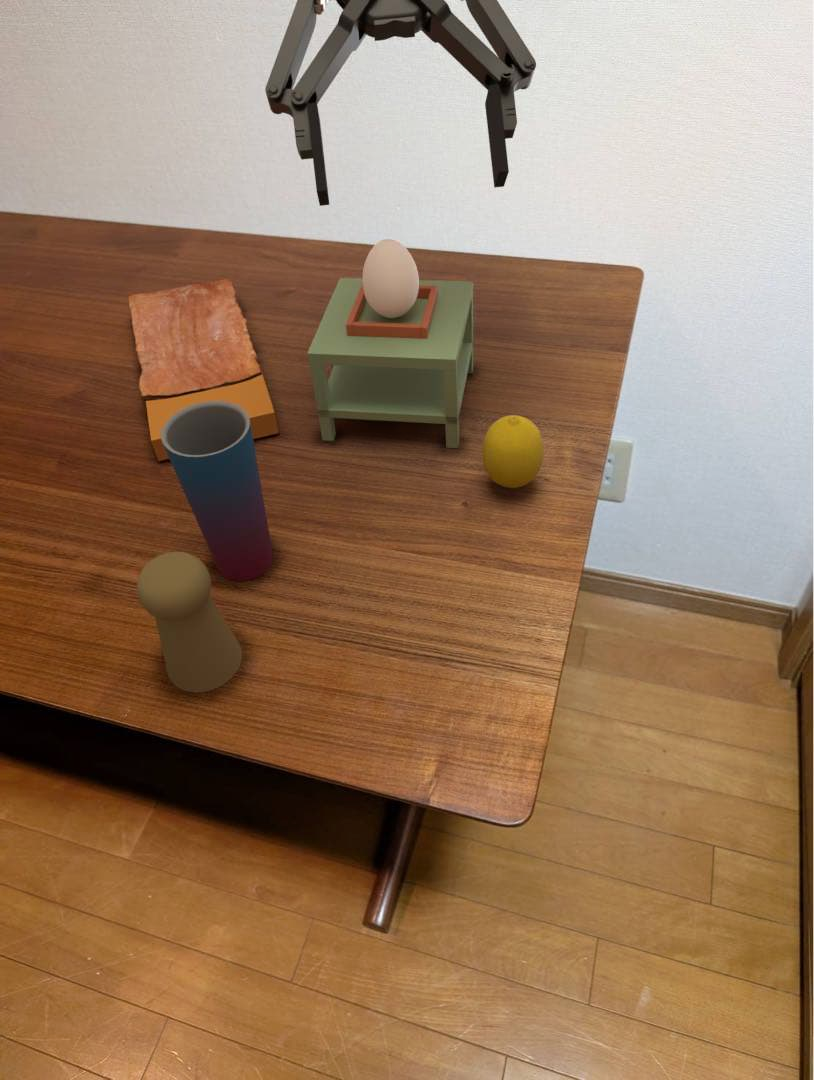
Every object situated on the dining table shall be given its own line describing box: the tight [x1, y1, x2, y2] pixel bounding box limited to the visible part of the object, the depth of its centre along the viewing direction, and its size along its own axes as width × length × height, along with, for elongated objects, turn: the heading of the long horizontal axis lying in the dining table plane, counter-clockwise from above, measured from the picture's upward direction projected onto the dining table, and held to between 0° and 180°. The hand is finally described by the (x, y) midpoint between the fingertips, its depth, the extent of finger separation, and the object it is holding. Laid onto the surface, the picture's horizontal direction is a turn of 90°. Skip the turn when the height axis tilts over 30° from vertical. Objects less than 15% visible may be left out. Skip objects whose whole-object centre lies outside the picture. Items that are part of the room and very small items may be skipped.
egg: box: [361, 238, 420, 318], centre depth 79 cm, size 5×5×8 cm
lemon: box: [481, 414, 544, 489], centre depth 76 cm, size 6×6×8 cm
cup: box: [161, 401, 274, 582], centre depth 69 cm, size 7×7×15 cm
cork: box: [136, 551, 243, 694], centre depth 63 cm, size 6×6×11 cm
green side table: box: [306, 277, 474, 449], centre depth 85 cm, size 14×14×12 cm
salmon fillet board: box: [127, 278, 280, 462], centre depth 94 cm, size 13×30×3 cm, turn 17°
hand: (412, 189), depth 63 cm, fingers open, 13 cm apart
